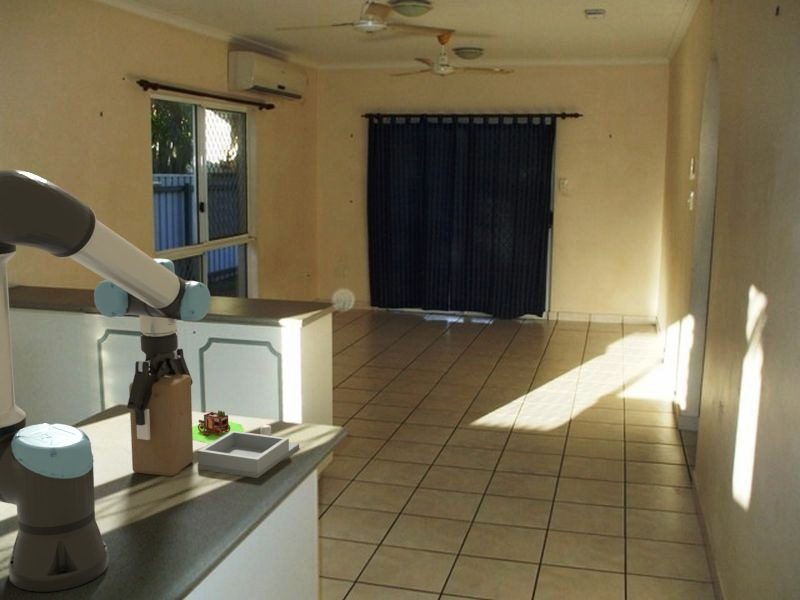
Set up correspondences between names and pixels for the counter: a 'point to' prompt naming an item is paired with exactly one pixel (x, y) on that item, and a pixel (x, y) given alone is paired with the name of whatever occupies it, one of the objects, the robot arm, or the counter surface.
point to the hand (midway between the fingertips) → (163, 428)
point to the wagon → (214, 427)
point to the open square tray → (245, 453)
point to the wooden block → (165, 428)
